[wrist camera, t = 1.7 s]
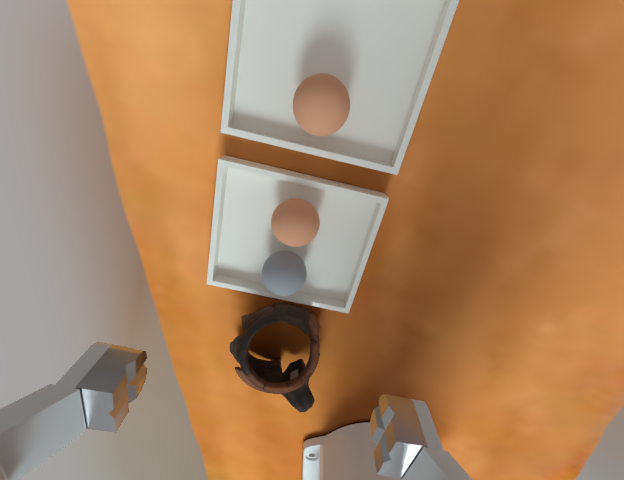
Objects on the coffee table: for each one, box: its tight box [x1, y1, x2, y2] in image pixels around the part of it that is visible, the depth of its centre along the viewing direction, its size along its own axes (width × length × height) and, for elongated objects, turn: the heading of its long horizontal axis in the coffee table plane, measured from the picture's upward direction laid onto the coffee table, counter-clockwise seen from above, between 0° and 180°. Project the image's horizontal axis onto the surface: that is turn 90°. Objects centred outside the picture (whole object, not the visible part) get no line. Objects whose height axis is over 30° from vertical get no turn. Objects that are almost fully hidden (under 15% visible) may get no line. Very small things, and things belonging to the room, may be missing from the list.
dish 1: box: [221, 0, 459, 175], centre depth 21 cm, size 12×14×2 cm
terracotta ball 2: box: [293, 73, 350, 136], centre depth 21 cm, size 4×4×4 cm
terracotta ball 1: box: [271, 198, 320, 247], centre depth 25 cm, size 4×4×4 cm
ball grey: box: [262, 251, 307, 296], centre depth 27 cm, size 4×4×4 cm
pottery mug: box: [230, 303, 320, 412], centre depth 31 cm, size 12×9×8 cm
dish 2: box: [207, 155, 389, 314], centre depth 27 cm, size 12×14×2 cm
